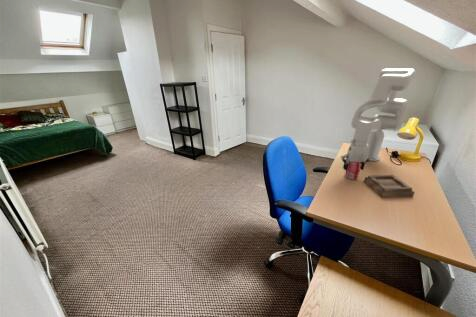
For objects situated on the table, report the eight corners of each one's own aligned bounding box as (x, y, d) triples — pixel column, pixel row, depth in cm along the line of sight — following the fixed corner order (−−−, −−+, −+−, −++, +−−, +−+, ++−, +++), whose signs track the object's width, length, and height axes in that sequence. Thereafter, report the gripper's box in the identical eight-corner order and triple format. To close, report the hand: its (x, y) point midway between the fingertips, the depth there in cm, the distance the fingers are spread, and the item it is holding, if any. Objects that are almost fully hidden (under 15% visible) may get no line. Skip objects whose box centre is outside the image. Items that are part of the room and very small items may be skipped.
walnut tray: (363, 181, 118) (365, 174, 116) (390, 180, 118) (392, 173, 116) (382, 197, 103) (385, 190, 101) (412, 196, 104) (415, 189, 102)
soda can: (354, 174, 125) (359, 157, 120) (359, 180, 119) (364, 162, 113) (342, 174, 126) (346, 156, 120) (347, 180, 119) (351, 162, 114)
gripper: (348, 145, 109) (341, 172, 116) (379, 144, 109) (371, 171, 116) (341, 140, 115) (335, 166, 123) (371, 139, 116) (363, 165, 123)
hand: (352, 169), depth 119 cm, fingers open, 9 cm apart
